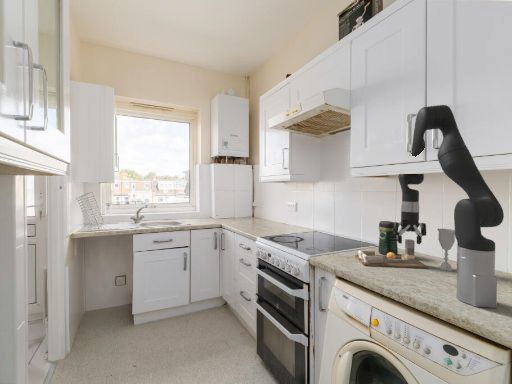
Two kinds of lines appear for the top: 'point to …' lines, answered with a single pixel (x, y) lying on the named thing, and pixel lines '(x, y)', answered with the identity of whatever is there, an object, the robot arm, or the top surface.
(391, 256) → the ball
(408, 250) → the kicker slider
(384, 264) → the board
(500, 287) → the top surface
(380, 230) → the coffee jar
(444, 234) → the chalice
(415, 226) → the robot arm
